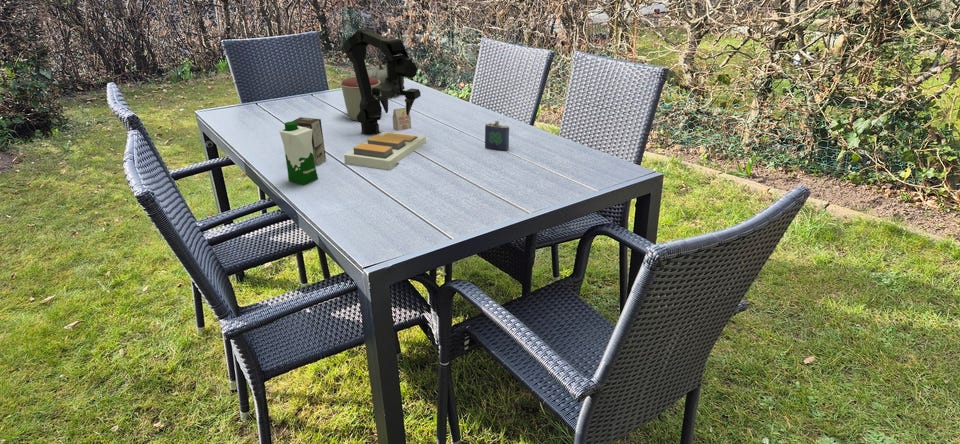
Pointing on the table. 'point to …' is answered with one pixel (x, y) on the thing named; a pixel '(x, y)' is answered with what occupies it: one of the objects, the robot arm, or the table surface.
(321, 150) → the coffee box
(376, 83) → the canister
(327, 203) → the table surface
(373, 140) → the orange drawer
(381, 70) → the gourd
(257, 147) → the table surface
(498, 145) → the flask
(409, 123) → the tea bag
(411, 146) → the cream board with panels
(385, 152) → the switch
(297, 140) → the milk carton
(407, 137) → the orange cabinet drawer
